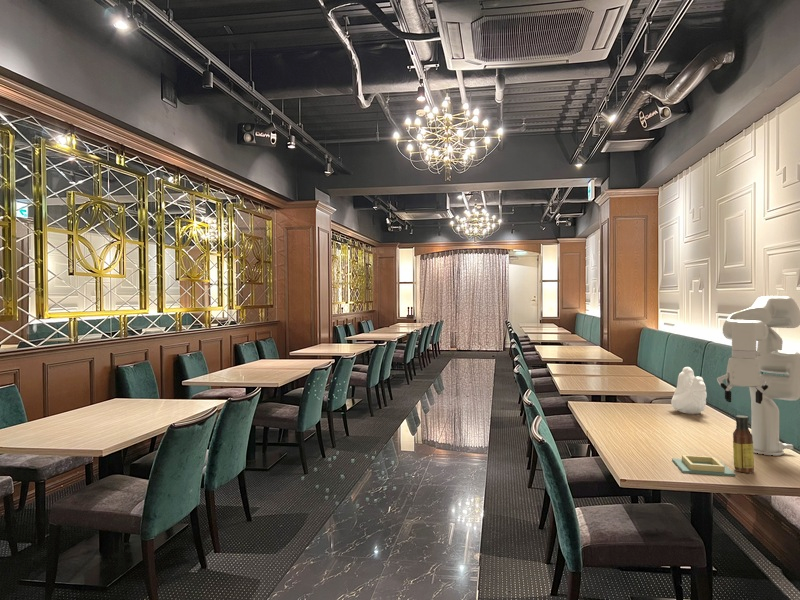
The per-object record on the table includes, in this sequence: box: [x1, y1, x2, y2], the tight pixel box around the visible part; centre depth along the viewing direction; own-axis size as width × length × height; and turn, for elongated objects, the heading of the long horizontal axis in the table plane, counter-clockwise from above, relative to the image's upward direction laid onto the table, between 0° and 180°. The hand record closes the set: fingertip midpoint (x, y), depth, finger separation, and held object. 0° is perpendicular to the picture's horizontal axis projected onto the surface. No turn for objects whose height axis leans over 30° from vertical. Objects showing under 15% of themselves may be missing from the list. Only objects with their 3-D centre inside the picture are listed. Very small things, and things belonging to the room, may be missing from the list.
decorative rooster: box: [670, 366, 708, 415], centre depth 294 cm, size 25×16×25 cm, turn 166°
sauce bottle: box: [732, 414, 755, 474], centre depth 198 cm, size 6×6×20 cm
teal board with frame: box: [671, 454, 737, 477], centre depth 201 cm, size 17×15×3 cm
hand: (743, 402), depth 197 cm, fingers open, 9 cm apart
